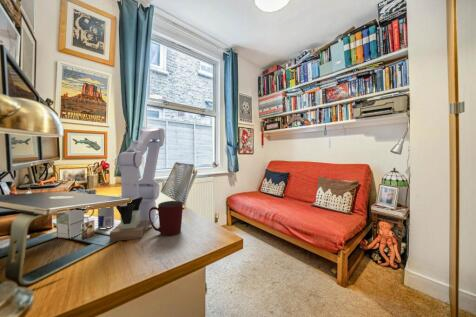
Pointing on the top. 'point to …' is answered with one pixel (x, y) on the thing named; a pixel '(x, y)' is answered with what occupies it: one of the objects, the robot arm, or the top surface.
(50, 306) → the top surface
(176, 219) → the mug
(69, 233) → the syrup box
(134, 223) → the sage block
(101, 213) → the energy drink
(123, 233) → the walnut base
